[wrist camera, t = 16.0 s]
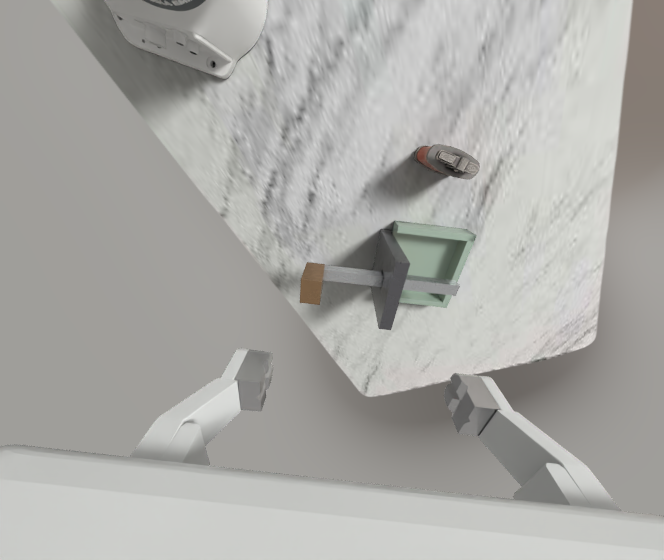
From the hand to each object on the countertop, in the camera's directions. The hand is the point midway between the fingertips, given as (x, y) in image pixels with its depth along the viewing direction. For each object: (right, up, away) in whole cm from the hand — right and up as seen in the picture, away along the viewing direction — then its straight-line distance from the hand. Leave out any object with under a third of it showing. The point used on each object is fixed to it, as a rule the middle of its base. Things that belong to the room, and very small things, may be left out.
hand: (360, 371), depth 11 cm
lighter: (+17, +25, +30) cm, 43 cm away
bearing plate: (+9, +9, +39) cm, 41 cm away
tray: (+17, +8, +39) cm, 44 cm away
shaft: (+7, +5, +31) cm, 32 cm away
